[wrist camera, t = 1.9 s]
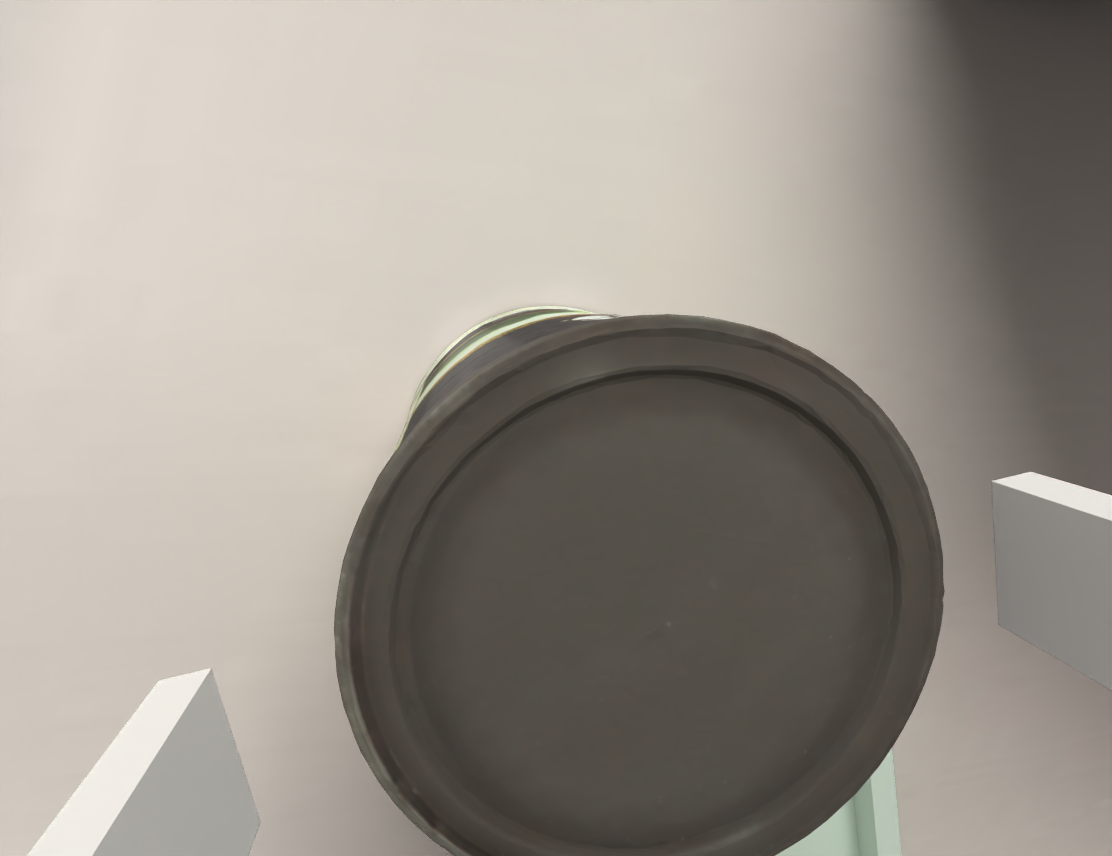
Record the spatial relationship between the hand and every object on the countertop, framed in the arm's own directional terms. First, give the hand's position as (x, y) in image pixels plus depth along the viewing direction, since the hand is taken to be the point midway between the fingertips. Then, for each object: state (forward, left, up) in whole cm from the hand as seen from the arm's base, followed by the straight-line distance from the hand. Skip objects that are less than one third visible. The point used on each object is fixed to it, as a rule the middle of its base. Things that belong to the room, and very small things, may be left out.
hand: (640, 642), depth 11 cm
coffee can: (0, 0, -14) cm, 14 cm away
